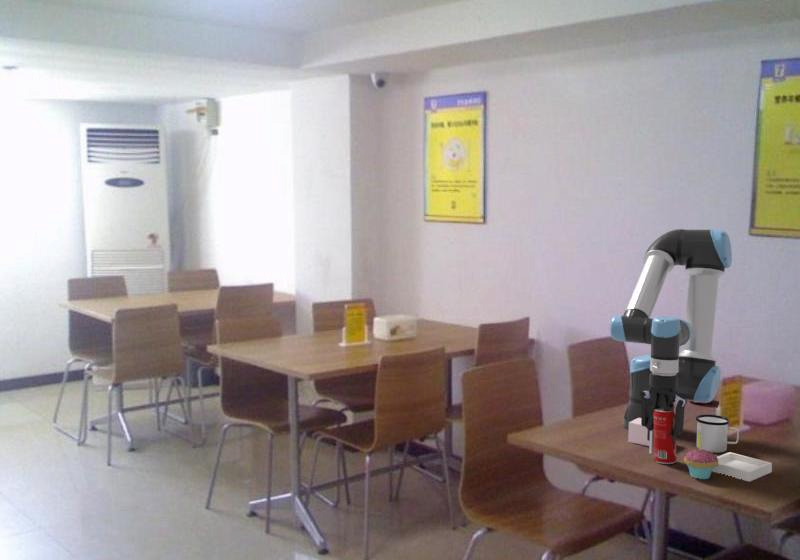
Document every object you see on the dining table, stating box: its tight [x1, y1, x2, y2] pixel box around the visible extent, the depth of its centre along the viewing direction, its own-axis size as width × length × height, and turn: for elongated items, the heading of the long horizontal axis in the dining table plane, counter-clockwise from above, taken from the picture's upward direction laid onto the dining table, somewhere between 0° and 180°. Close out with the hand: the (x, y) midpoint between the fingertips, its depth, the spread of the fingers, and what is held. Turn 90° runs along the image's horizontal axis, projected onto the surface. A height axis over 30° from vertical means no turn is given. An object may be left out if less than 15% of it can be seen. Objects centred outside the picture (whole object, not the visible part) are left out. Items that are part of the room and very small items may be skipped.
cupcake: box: [683, 433, 718, 480], centre depth 211 cm, size 9×8×12 cm
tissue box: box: [627, 418, 649, 447], centre depth 240 cm, size 10×7×6 cm
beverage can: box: [653, 407, 677, 465], centre depth 222 cm, size 6×6×15 cm
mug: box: [695, 414, 740, 454], centre depth 234 cm, size 12×10×9 cm
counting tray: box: [712, 451, 773, 482], centre depth 215 cm, size 12×12×2 cm
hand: (660, 454), depth 224 cm, fingers closed on beverage can, 4 cm apart
